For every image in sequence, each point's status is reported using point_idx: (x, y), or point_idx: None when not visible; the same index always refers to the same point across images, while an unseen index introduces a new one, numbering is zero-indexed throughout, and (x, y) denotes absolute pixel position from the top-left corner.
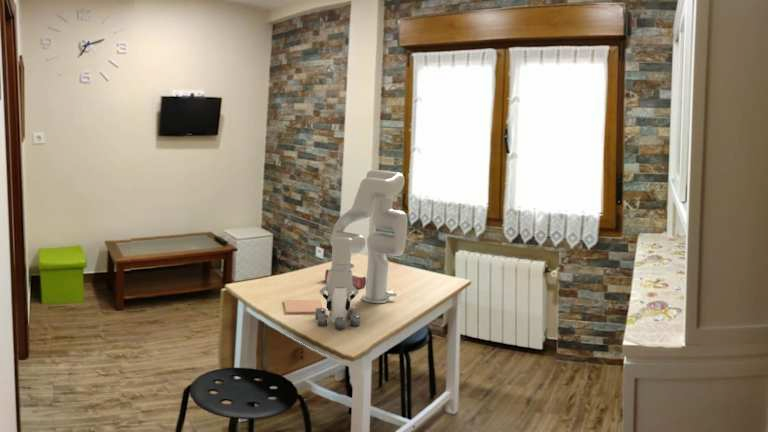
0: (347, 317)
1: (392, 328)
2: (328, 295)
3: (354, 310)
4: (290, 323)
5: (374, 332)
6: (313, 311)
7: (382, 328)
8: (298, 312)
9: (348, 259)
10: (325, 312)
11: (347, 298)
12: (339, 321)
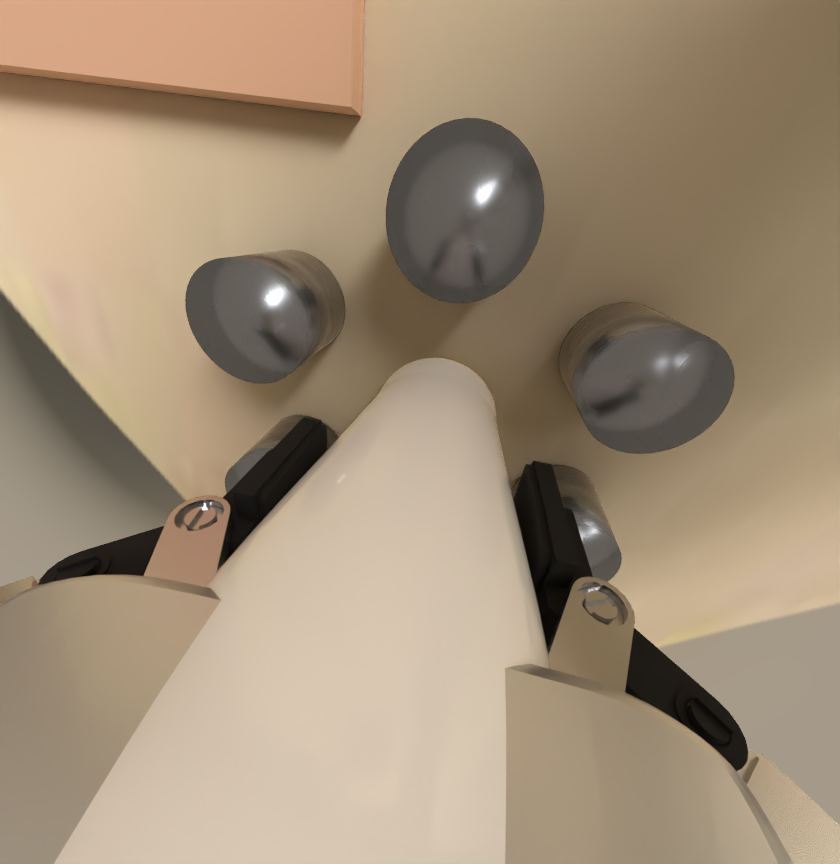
0: (562, 370)
1: (801, 606)
2: (174, 578)
3: (659, 435)
4: (82, 365)
5: None
6: (206, 78)
7: (723, 589)
8: (40, 72)
9: None
10: (314, 343)
11: (551, 625)
12: None
